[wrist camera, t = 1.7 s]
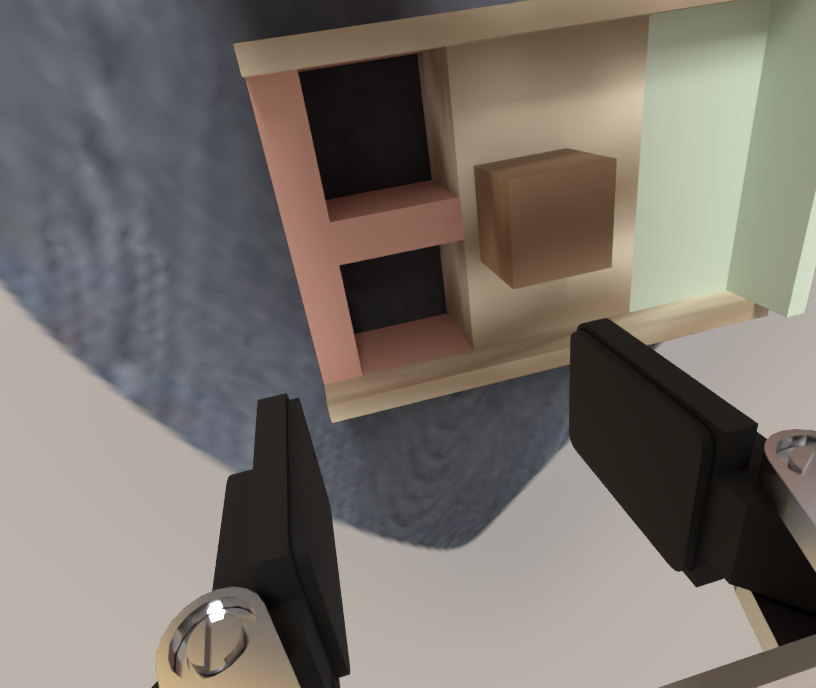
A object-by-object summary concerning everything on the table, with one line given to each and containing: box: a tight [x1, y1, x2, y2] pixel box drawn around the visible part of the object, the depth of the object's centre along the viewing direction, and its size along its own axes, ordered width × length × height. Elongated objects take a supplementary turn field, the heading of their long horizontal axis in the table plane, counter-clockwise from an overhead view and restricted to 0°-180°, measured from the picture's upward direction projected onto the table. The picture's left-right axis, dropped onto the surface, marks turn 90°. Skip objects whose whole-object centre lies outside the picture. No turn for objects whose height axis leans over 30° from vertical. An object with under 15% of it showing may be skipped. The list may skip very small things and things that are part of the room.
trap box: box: [233, 0, 816, 423], centre depth 25 cm, size 16×24×9 cm, turn 98°
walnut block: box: [473, 148, 617, 289], centre depth 23 cm, size 4×4×4 cm
